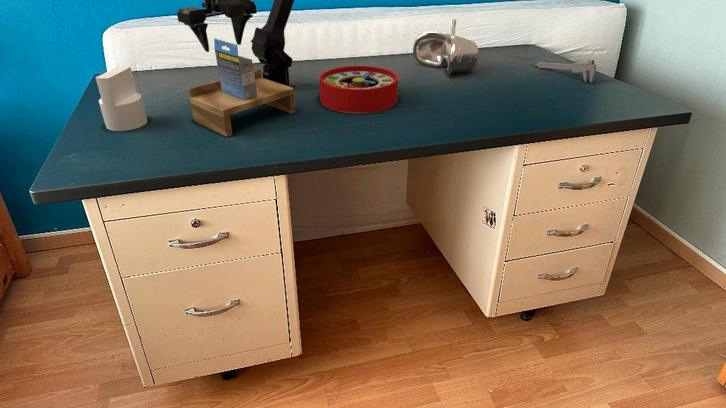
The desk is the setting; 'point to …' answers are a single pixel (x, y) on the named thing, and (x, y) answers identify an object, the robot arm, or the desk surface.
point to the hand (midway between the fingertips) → (223, 48)
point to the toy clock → (358, 89)
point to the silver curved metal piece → (446, 51)
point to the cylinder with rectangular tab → (120, 100)
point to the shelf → (236, 102)
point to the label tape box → (234, 71)
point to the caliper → (574, 68)
